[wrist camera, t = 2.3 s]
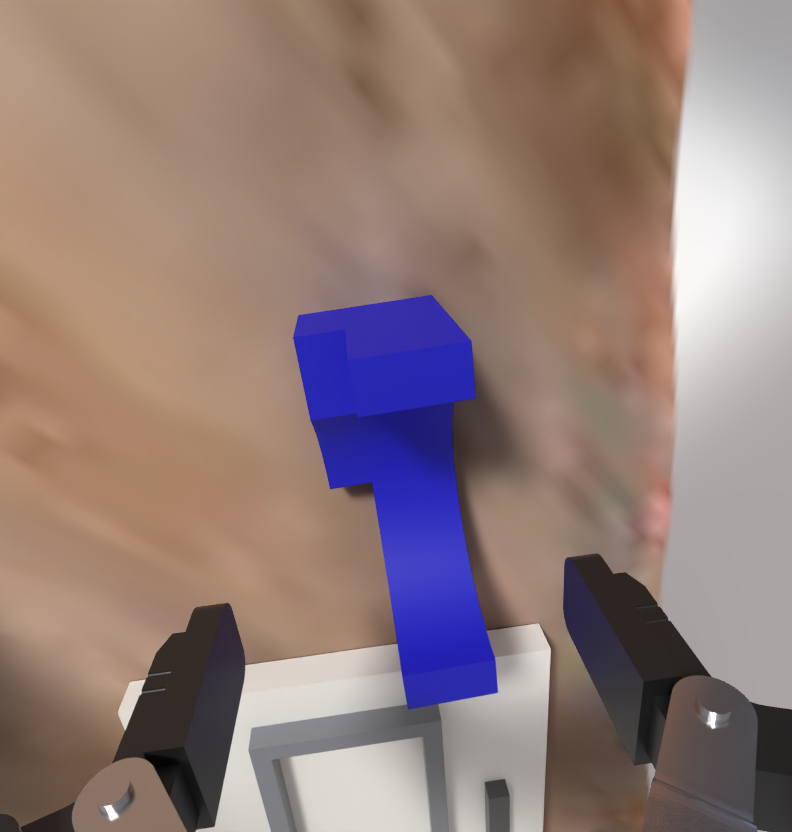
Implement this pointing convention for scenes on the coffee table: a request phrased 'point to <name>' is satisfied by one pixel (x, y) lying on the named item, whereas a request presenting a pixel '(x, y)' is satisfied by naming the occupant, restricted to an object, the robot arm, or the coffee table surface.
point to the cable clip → (405, 474)
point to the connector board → (385, 746)
